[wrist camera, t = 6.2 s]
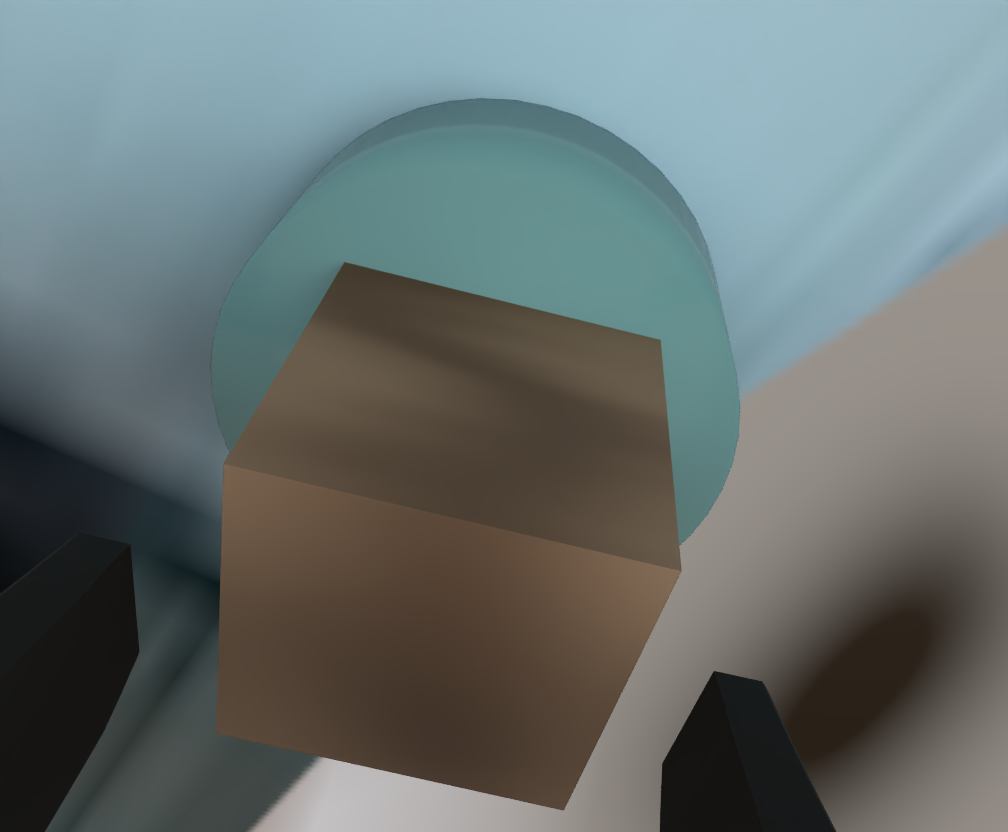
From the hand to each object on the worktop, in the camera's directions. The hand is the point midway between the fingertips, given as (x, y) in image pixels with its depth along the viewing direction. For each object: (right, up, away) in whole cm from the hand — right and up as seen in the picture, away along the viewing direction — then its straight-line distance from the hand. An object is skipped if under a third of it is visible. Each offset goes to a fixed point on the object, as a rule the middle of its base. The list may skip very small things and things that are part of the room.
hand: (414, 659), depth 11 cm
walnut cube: (+1, +3, +4) cm, 5 cm away
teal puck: (+1, +5, +7) cm, 9 cm away
